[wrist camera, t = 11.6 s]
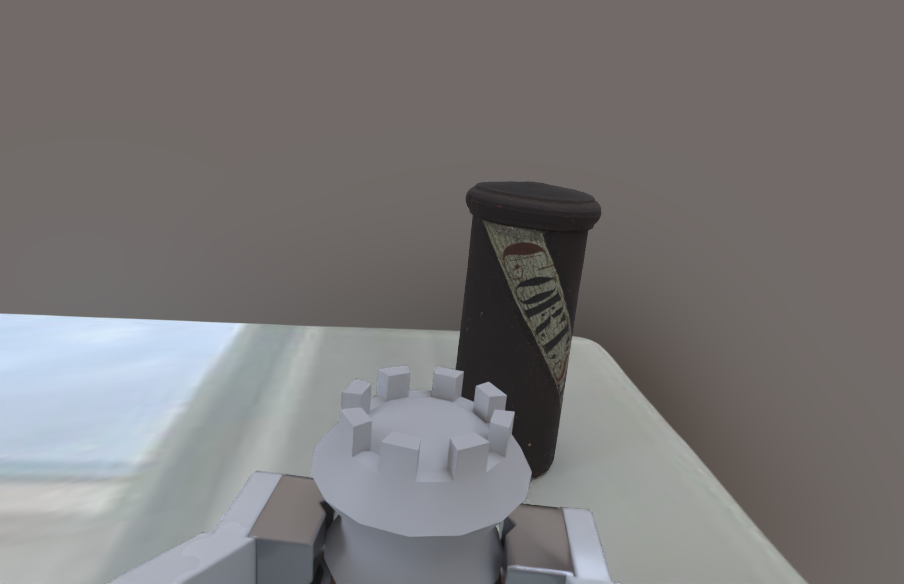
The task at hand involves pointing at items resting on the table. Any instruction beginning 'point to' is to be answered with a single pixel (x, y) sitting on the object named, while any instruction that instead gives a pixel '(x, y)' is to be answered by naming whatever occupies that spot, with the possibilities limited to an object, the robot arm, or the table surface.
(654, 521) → the table surface
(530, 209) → the container
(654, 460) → the table surface
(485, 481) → the rook chess piece
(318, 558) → the robot arm
